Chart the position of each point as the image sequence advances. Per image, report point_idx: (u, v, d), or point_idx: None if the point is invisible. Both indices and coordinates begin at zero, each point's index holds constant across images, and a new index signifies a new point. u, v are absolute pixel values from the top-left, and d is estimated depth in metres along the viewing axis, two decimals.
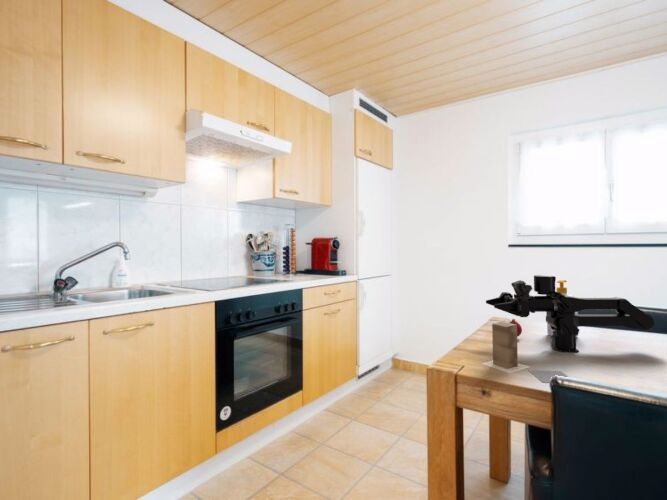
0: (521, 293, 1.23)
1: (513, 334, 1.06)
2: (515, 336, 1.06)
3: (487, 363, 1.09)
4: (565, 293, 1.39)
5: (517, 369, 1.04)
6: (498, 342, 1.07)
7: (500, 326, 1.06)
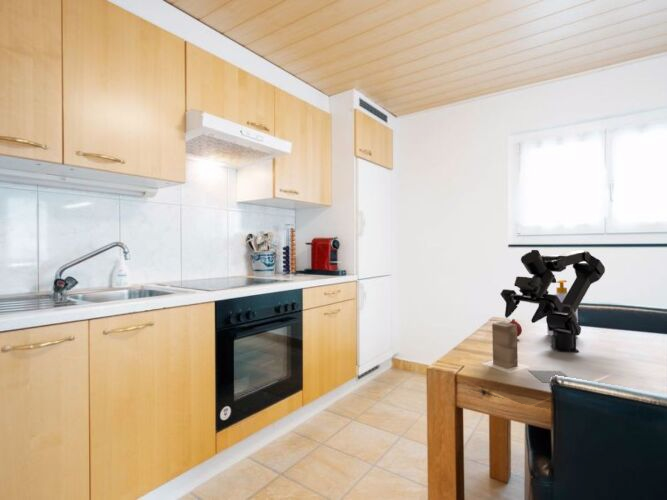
0: (533, 288, 1.11)
1: (513, 334, 1.06)
2: (515, 336, 1.06)
3: (487, 363, 1.09)
4: (565, 293, 1.39)
5: (517, 369, 1.04)
6: (498, 342, 1.07)
7: (500, 326, 1.06)
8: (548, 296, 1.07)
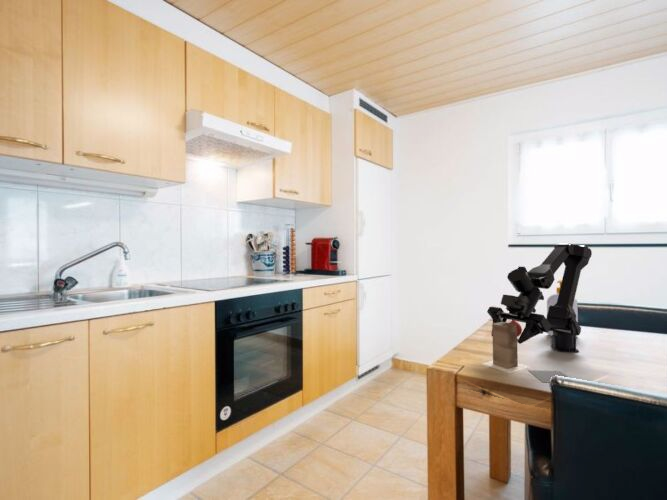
0: (520, 307, 1.08)
1: (513, 334, 1.06)
2: (515, 336, 1.06)
3: (487, 363, 1.09)
4: None
5: (517, 369, 1.04)
6: (498, 342, 1.07)
7: (500, 326, 1.06)
8: (535, 316, 1.03)
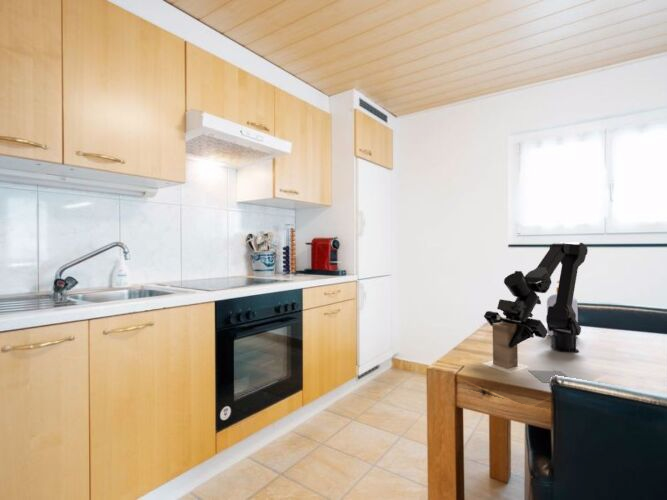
0: (517, 312, 1.07)
1: (513, 335, 1.06)
2: None
3: (487, 363, 1.09)
4: None
5: (517, 369, 1.04)
6: (498, 342, 1.07)
7: (500, 326, 1.06)
8: (532, 321, 1.02)
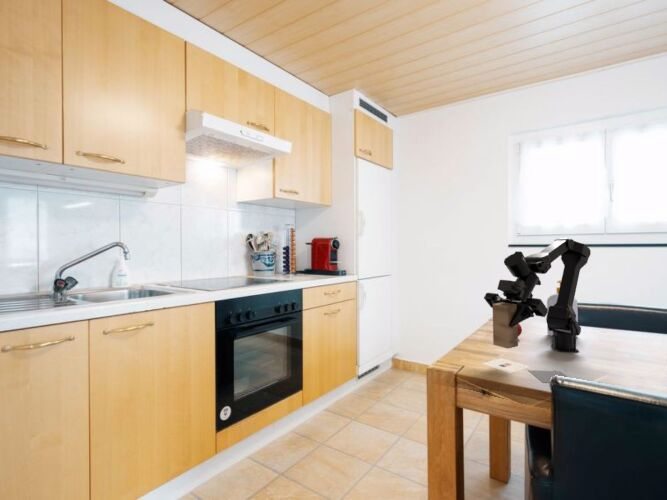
0: (517, 292, 1.07)
1: None
2: None
3: (487, 363, 1.09)
4: None
5: (517, 369, 1.04)
6: (498, 323, 1.07)
7: (500, 306, 1.06)
8: (532, 300, 1.02)
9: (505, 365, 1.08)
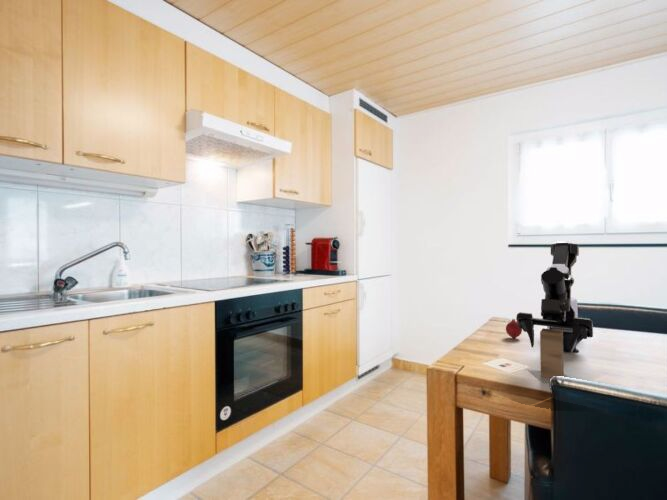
0: (561, 312, 0.98)
1: (562, 342, 0.97)
2: (562, 343, 0.97)
3: (487, 363, 1.09)
4: None
5: (517, 369, 1.04)
6: (549, 353, 0.96)
7: (552, 334, 0.96)
8: (583, 321, 0.95)
9: (505, 365, 1.08)
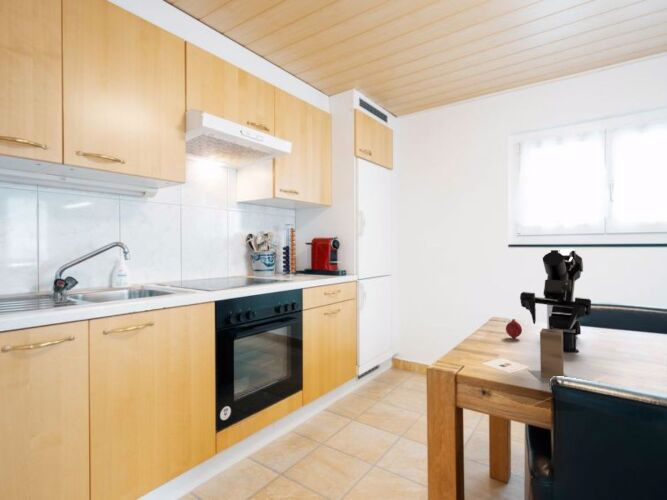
0: (563, 292, 1.06)
1: (562, 342, 0.97)
2: (562, 343, 0.97)
3: (487, 363, 1.09)
4: None
5: (517, 369, 1.04)
6: (549, 353, 0.96)
7: (551, 334, 0.96)
8: (583, 300, 1.02)
9: (505, 365, 1.08)
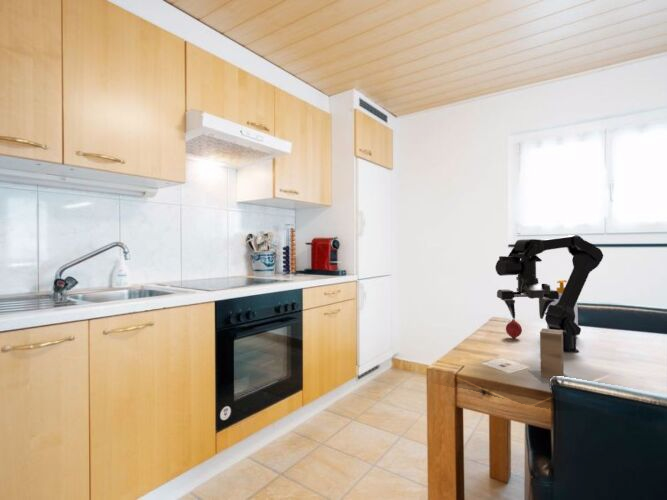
0: None
1: (562, 342, 0.97)
2: (562, 343, 0.97)
3: (487, 363, 1.09)
4: None
5: (517, 369, 1.04)
6: (549, 353, 0.96)
7: (551, 334, 0.96)
8: (554, 295, 1.17)
9: (505, 365, 1.08)
